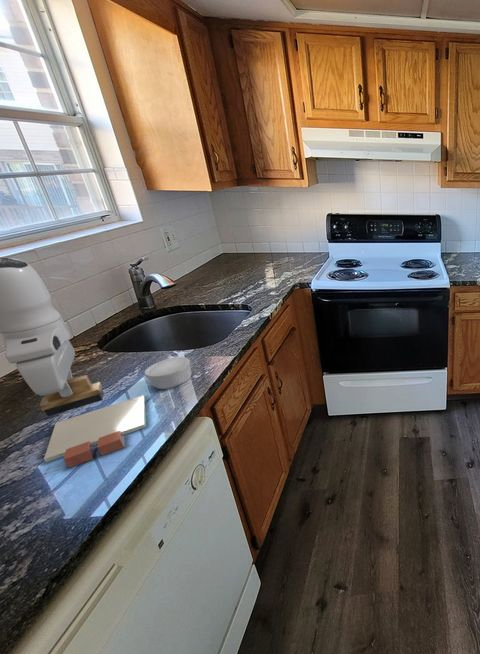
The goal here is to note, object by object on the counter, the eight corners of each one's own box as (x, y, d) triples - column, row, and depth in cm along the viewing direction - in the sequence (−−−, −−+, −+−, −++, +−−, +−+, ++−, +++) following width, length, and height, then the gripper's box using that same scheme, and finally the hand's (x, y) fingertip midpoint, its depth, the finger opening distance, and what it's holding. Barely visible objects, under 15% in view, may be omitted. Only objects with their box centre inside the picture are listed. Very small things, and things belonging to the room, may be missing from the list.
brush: (45, 417, 78) (31, 394, 76) (49, 408, 81) (35, 386, 79) (104, 400, 84) (92, 378, 81) (105, 392, 86) (94, 370, 84)
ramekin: (159, 374, 114) (152, 360, 111) (199, 368, 117) (194, 353, 114) (144, 395, 104) (136, 379, 102) (188, 387, 107) (182, 371, 105)
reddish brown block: (68, 468, 80) (63, 459, 79) (71, 457, 82) (65, 449, 81) (92, 459, 82) (87, 450, 81) (94, 449, 85) (89, 440, 84)
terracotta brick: (101, 455, 83) (97, 447, 82) (103, 446, 85) (98, 437, 84) (124, 447, 85) (119, 439, 84) (124, 438, 88) (120, 430, 87)
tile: (45, 462, 81) (43, 459, 81) (57, 425, 93) (55, 422, 92) (145, 427, 91) (144, 424, 91) (145, 397, 103) (143, 394, 102)
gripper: (28, 323, 81) (57, 376, 87) (2, 360, 66) (39, 420, 72) (67, 316, 84) (93, 367, 90) (50, 349, 69) (82, 407, 75)
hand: (69, 391), depth 81 cm, fingers closed on brush, 2 cm apart
